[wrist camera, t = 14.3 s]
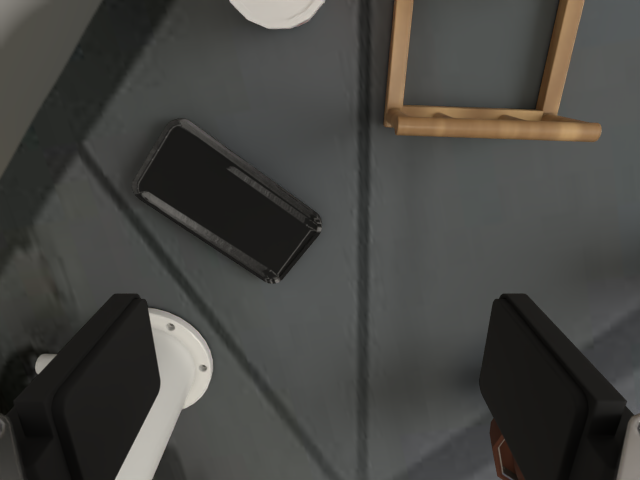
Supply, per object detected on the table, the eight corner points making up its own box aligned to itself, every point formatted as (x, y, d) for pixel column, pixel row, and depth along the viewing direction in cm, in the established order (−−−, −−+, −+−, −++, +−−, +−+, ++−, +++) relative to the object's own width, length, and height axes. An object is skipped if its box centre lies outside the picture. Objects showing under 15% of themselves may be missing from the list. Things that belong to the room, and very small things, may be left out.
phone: (275, 288, 38) (126, 191, 35) (276, 282, 39) (132, 187, 36) (328, 223, 35) (173, 112, 32) (328, 219, 36) (178, 111, 33)
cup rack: (383, 125, 33) (396, 139, 27) (398, -54, 29) (419, -88, 22) (545, 130, 33) (597, 146, 27) (587, -48, 29) (662, -80, 22)
